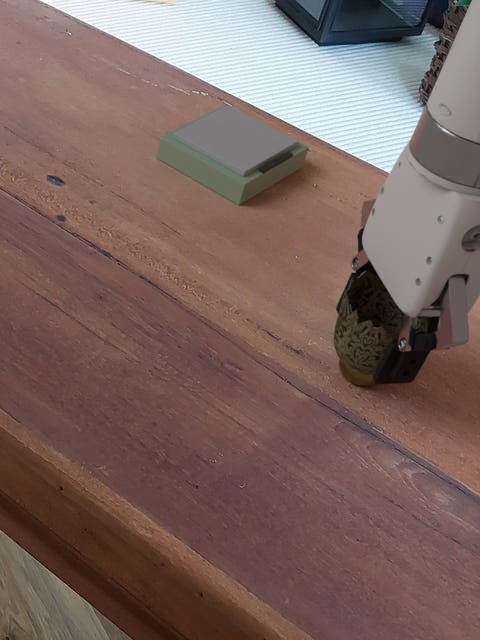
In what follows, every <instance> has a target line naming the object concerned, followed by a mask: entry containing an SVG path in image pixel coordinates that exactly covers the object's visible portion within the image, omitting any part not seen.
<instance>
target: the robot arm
mask: <svg viewBox="0 0 480 640" xmlns="http://www.w3.org/2000/svg"><path fill="white" fill-rule="evenodd" d="M360 227H362V228H360V229H359V231H358V233H357V236H356V237H357V253H356V254H355V255H354V256H353V257H352V258H351V259H352V260H351V269H352V270H353V272H351V273H350V275H349V278H348V280H347V282H346V285H345V287H344V289H343V291H342V293H341V295H340V298H339V300H338V302H337V305H336V307H335V310H336V312H337V315H338V314H339V310H340V307H341V303H342V300H343V297H344V292H345V290H346V289H348V287H349V284H350V281H351V279H352V277H354V276H355V277H358V276H360V275H361V274H362V273H363V272H364V271H366V270H368V271H369V272H371V273H373V274H375V276H378V275H379V277H380V279H381V280H382V282H383V284H384V285H385V287H386V288H387V290H388V292H389V293H390V295H391V296H392V298H393V300H394V301H395V303H396V304H397V306H398V307H399V308H400V309H401V310H402V311H403V312H402V319H401V326H400V332H399V339H398V341H393V342H391V343H390V344H389V346H388V348H387V350H386V352H385V354H384V356H383V358H382V360H381V362H380V364H379V365H378V367H377V369H376V371H375V373H374V376H373V379H374V381H375V383H374V384H375V385H391V384H392V385H395V384H409V383H411V382H413V381H414V380H415V379H416V378H417V375H418V374H419V372H420V371H421V368H422V366H423V365H424V363H425V361H426V360H427V359H428V356H429V355H430V353H431V351H432V352H433V351H445V350H447V351H448V350H450V349H451V348H456V347H459V346H464V345H466V344H467V343H468V342H469V339H470V331H469V330H470V329H469V328H470V327H469V316H468V314H469V313H470V311H471V310H472V309H473V307H474V305H475V304H476V302H477V300H478V299H479V297H480V0H471V1H470V4H469V5H468V8H467V10H466V13H465V15H464V17H463V18H462V22H461V24H460V26H459V28H458V31H457V33H456V35H455V38H454V40H453V42H452V44H451V46H450V49H449V52H448V53H447V55H446V57H445V61H444V62H443V65H442V67H441V70H440V72H439V74H438V77H437V78H436V81H435V84H434V86H433V88H432V90H431V92H430V95H429V98H428V100H427V101H426V104H425V106H424V108H423V109H422V113H421V115H420V116H419V119H418V121H417V124H416V126H415V128H414V130H413V133H412V135H411V137H410V139H409V140H408V142H407V144H406V145H405V146H404V148H403V149H402V151H401V152H400V154H399V156H398V158H397V160H396V162H395V163H394V165H393V167H392V168H391V170H390V172H389V174H388V175H387V178H386V179H385V181H384V183H383V185H382V187H381V189H380V190H379V193H378V195H377V197H376V198H374V199H368V200H367V199H366V200H364V201H363V203H362V205H361V222H360ZM433 302H434V305H433V306H430V305H431V304H432V303H433ZM419 317H430V318H429V325H428V331H427V333H426V334H416V335H415V332H416V325H417V319H418V318H419Z"/></svg>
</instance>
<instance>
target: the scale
mask: <svg viewBox="0 0 480 640" xmlns="http://www.w3.org/2000/svg"><path fill="white" fill-rule="evenodd" d="M309 150H310V146H308V145H306V144H304V143H302V142H300V141H299V140H298V139H296V138H294V137H292V136H290V135H288V134H286V133H284V132H283V131H280V130H278V129H277V128H274V127H273V126H271V125H269V124H266V123H265V122H263V121H262V120H259V119H257V118H255V117H253V116H252V115H249V114H247V113H245V112H244V111H241V110H240V109H237V108H236V107H234V106H232V105H230V104H224V105H222V106H219V107H218V108H217V107H216V109H214V110H212V111H209V112H208V113H206V114H204V115H202V116H200V117H197V118H196V119H193V120H192V121H190V122H188V123H186V124H184V125H182V126H180V127H178V128H176V129H174V130H172V131H170V132H168V133H166V134H164V135H162V136H160V139H159V142H158V148H157V153H156V159H157V160H159V161H161V162H162V163H164V164H166V165H167V166H170V167H171V168H173V169H175V170H176V171H179V172H180V173H182V174H183V175H185V176H187V177H189V178H190V179H192V180H194V181H195V182H197V183H199V184H201V185H203V186H204V187H206V188H208V189H209V190H212V191H213V192H215V193H216V194H218V195H220V196H222V197H224V198H225V199H227V200H229V201H230V202H232V203H234V204H236V205H237V206H241V204H244V203H245V202H247V201H249V200H251V199H252V198H253V197H256V196H257V195H259V194H260V193H262V192H264V191H266V190H267V189H269V188H270V187H272V186H274V185H276V184H277V183H279V182H280V181H282V180H284V179H285V178H288V177H289V176H291V175H292V174H294V173H295V172H298V171H299V170H300V169H302V168H303V166H304V163H305V160H306V158H307V155H308V152H309Z"/></svg>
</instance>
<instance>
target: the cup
mask: <svg viewBox="0 0 480 640" xmlns="http://www.w3.org/2000/svg"><path fill="white" fill-rule="evenodd" d="M433 305H434V302H433V303H432V304H431V305H430V306H433ZM402 312H403V311H402V310H401V309H400V308H399V307H398V306H397V304H396V303H395V301H394V300H393V298H392V296H391V295H390V293H389V292H388V290H387V288H386V287H385V285H384V284H383V282H382V280H381V279H380V277H379V275H378V276H375V274H373V273H371V272H369V271H368V270H366V271H364V272H363V273H362V274H361V275H360V276H358V277H355V276H354V277H352V279H351V281H350V284H349V287H348V289H346V290H345V292H344V297H343V300H342V303H341V307H340V310H339V314H338V313H337V317H336V322H335V325H334V330H333V348H334V350H335V353H336V355H337V357H338V358H339V360H338V370H339V373H340V374H341V375H342V377H343V378H344V379H345V380H346V381H347V382H349V383H351V384H353V385H354V384H355V385H356V386H363V387H364V386H372V385H375V384H376V383H375V381H374V379H373V376H374V373H375V371H376V369H377V367H378V365H379V364H380V362H381V360H382V358H383V356H384V354H385V352H386V350H387V348H388V346H389V344H390V343H391V342H393V341H398V339H399V332H400V326H401V319H402ZM429 318H430V317H419V318H418V319H417V325H416V332H415V335H416V334H426V333H427V331H428V325H429Z"/></svg>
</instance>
